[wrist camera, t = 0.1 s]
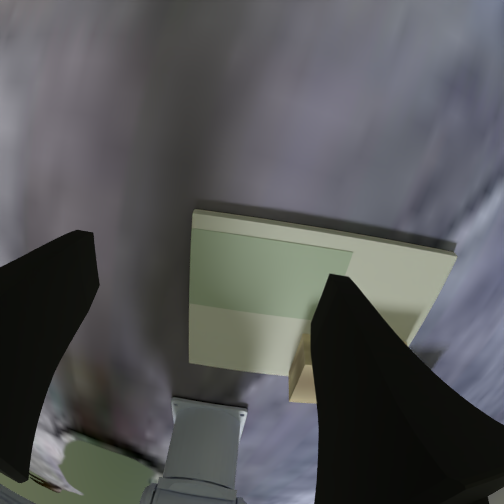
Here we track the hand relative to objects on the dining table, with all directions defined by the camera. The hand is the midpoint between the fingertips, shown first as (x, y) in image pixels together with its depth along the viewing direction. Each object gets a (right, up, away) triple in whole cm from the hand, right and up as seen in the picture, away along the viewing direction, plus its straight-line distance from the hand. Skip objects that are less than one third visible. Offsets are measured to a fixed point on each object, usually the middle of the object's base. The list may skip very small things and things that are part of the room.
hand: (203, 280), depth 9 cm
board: (+6, -4, +14) cm, 15 cm away
